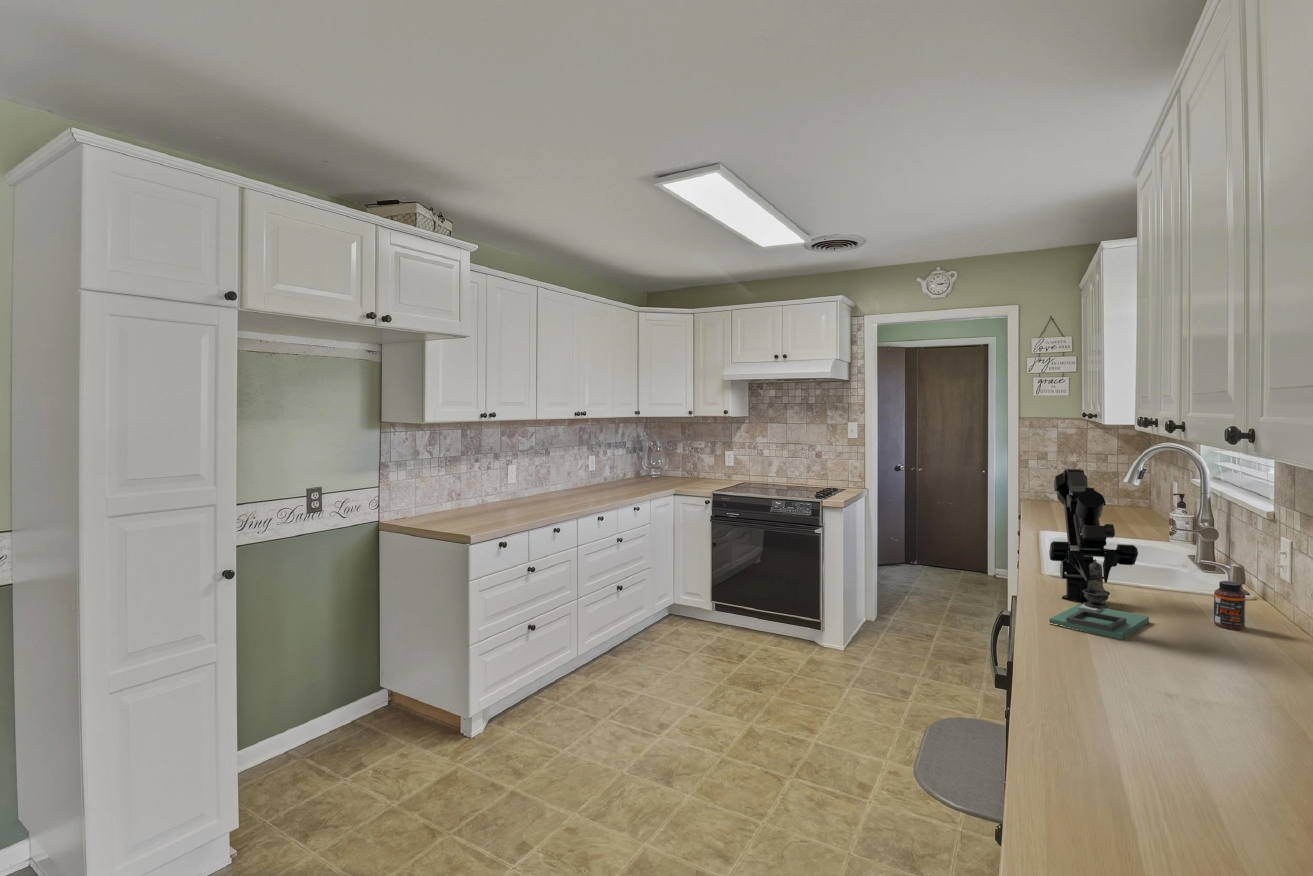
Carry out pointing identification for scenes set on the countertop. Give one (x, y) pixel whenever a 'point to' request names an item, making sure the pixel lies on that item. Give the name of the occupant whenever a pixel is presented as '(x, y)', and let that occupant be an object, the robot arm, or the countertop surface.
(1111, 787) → the countertop surface
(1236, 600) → the supplement bottle
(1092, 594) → the weathered stone pawn
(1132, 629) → the socket board
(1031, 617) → the countertop surface
